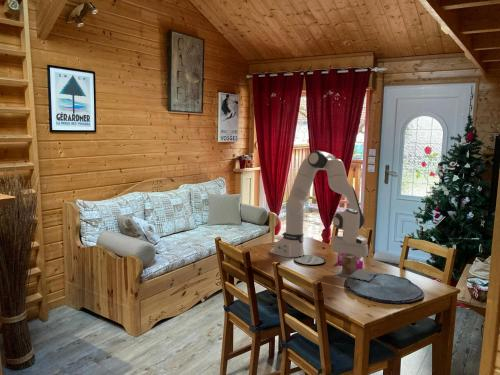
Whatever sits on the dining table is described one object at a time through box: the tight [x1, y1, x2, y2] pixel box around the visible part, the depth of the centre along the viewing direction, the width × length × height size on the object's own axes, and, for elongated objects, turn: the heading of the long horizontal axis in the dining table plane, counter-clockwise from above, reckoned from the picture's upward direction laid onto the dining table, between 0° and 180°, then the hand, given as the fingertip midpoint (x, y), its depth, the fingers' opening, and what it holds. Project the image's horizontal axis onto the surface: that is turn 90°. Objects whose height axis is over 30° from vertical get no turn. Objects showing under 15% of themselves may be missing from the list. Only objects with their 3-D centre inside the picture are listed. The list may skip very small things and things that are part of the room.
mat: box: [336, 268, 379, 282], centre depth 231 cm, size 18×16×1 cm
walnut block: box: [341, 254, 357, 274], centre depth 233 cm, size 5×9×10 cm, turn 147°
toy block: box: [336, 253, 364, 270], centre depth 247 cm, size 15×6×8 cm, turn 29°
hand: (349, 261), depth 232 cm, fingers open, 8 cm apart
